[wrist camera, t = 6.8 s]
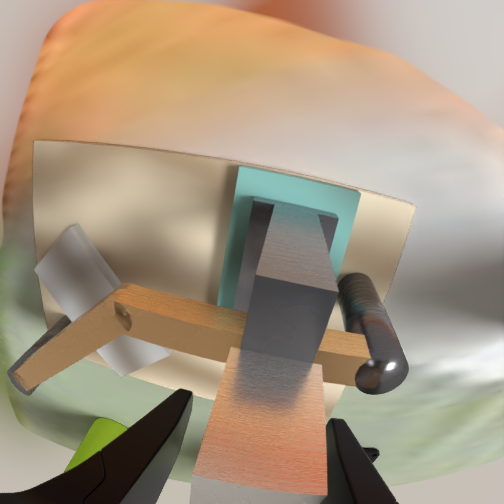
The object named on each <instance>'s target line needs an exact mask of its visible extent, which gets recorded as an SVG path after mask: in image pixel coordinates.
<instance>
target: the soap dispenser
mask: <svg viewBox="0 0 504 504" xmlns="http://www.w3.org/2000/svg"><path fill="white" fill-rule="evenodd" d="M127 429H128V428H126V427H125V426H123V425H121V424H120V423H118V422H115V421H113V420H110V419H106V418H98V419H96V420H95V421H94V423H93V425H92V426H91V428H90V430H89V431H88V433H87V434H86V436H85V438H84V439H83V441H82V443H81V444H80V446H79V448H78V449H77V451H76V453H75V454H74V456H73V458H72V459H71V461H70V463H69V464H68V466H67V468H66V469H65V471H64V472H66V471H68V470H70V469H72V468H73V467H75V466H77V465H79V464H80V463H82V462H83V461H85V460H86V459H88V458H89V457H91V456H92V455H93V454H95V453H96V452H97V451H99V450H100V451H101V449H102V448H103V447H105V446H106V445H107V444H109V443H110V442H111V441H113V440H114V439H115V438H117V437H118V436H119V435H121V434H122V433H123V432H124V431H126V430H127Z"/></svg>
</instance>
